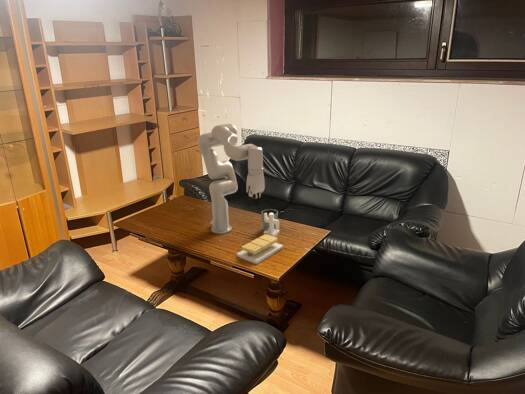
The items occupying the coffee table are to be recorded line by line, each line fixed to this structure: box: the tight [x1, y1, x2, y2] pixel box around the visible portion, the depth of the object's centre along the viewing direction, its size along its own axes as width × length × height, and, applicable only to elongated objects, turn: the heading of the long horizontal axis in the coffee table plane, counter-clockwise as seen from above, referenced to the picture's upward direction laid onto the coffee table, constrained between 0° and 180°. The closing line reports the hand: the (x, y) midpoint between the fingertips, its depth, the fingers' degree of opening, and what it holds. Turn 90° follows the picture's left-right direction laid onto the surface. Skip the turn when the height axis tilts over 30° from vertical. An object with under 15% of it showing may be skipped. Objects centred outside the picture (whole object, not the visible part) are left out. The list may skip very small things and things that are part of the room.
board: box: [236, 242, 285, 265], centre depth 213 cm, size 14×23×4 cm, turn 140°
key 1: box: [258, 233, 279, 245], centre depth 217 cm, size 9×6×2 cm, turn 50°
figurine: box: [263, 213, 280, 237], centre depth 228 cm, size 7×9×15 cm
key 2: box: [249, 237, 270, 249], centre depth 212 cm, size 9×6×2 cm, turn 50°
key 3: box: [241, 242, 262, 255], centre depth 207 cm, size 9×6×2 cm, turn 50°
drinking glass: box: [260, 208, 279, 232], centre depth 238 cm, size 10×10×12 cm
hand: (256, 204), depth 205 cm, fingers closed
